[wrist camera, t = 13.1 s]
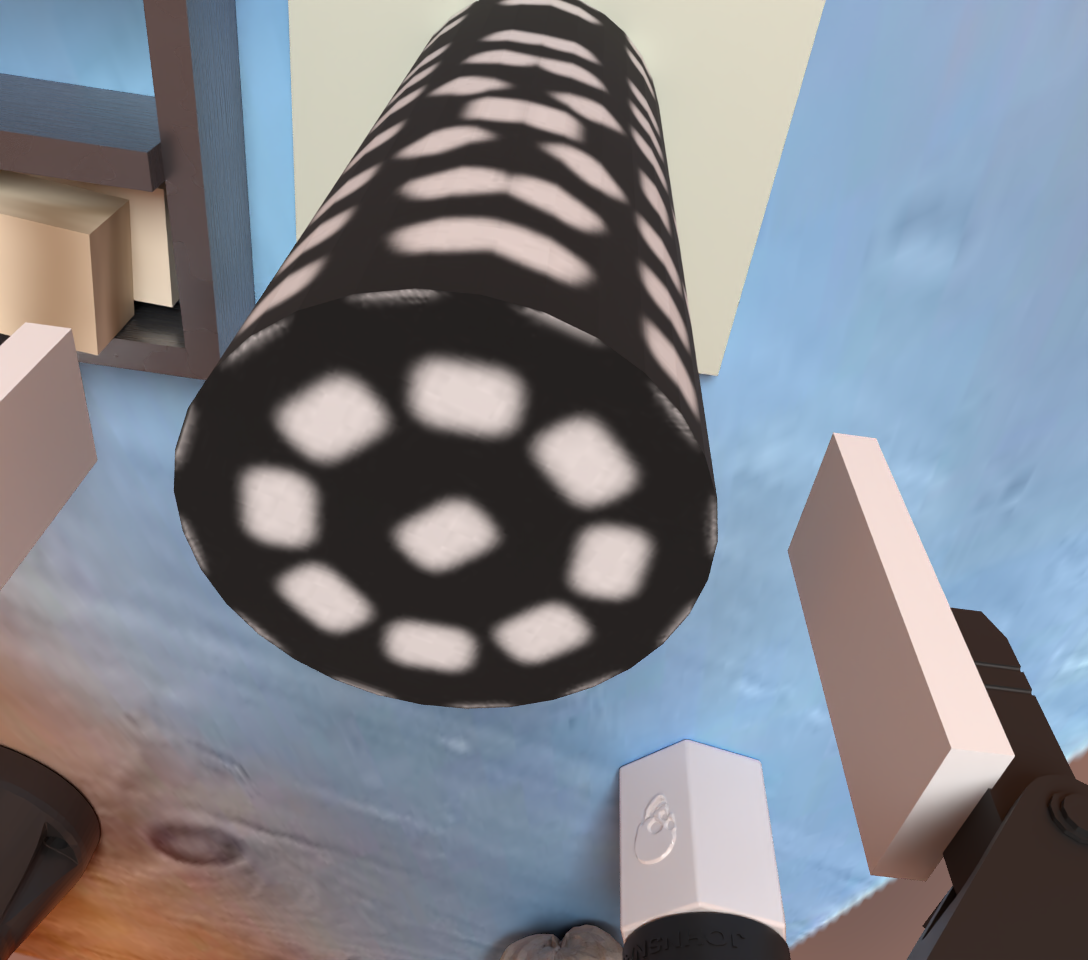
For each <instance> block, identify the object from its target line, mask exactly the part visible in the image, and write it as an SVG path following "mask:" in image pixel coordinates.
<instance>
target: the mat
mask: <svg viewBox="0 0 1088 960" xmlns="http://www.w3.org/2000/svg"><path fill="white" fill-rule="evenodd" d="M476 1H479V0H288V6H289V35H290V64H291V93H292V122H293V151H294V180H295V209H296V238H297V241H298V240H299V238H300V237H301V235H302V234H303V232H304V231H305V229H306V228H307V226H308V225H309V223H310V222H311V220H312V219H313V217H314V215H315V214H316V212H317V211H318V209H319V208H320V206H321V205H322V203H323V202H324V200H325V199H326V197H327V196H328V194H329V193H330V191H331V190H332V188H333V187H334V185H335V184H336V182H337V181H338V179H339V177H340V176H341V174H342V173H343V171H344V170H345V168H346V167H347V165H348V164H349V162H350V161H351V159H352V158H353V156H354V155H355V153H356V152H357V150H358V149H359V147H360V146H361V144H362V143H363V141H364V139H365V138H366V136H367V135H368V133H369V132H370V130H371V129H372V127H373V126H374V124H375V123H376V121H377V120H378V118H379V117H380V115H381V114H382V112H383V111H384V109H385V108H386V106H387V104H388V103H389V101H390V100H391V98H392V97H393V95H394V94H395V92H396V91H397V89H398V88H399V86H400V85H401V83H402V82H403V80H404V79H405V77H406V76H407V74H408V73H409V71H410V70H411V68H412V66H413V65H414V63H415V62H416V60H417V59H418V57H419V56H420V54H421V53H422V51H423V50H424V48H425V47H426V45H427V44H428V42H429V41H430V39H431V38H432V36H433V35H434V34H435V33H436V32H437V31H438V30H439V29H440V28H441V27H442V26H443V25H444V24H445V23H446V22H447V21H448V20H449V19H450V18H451V17H452V16H453V15H455V14H456V13H458V12H460V11H461V10H463V9H464V8H466V7H467V6H469V5H471V4H472V3H474V2H476ZM581 1H583V2H584V3H586V4H588V5H590V6H591V7H593V8H595V9H596V10H598V11H600V12H602V13H603V14H605V15H606V16H607V17H608V18H609V19H610V20H612V21H613V22H614V23H615V24H616V25H617V26H618V27H619V28H620V29H622V30H623V31H624V32H625V33H626V35H627V36H628V37H629V39H630V40H631V41H632V43H633V44H634V46H635V47H636V48H637V50H638V51H639V52H640V54H641V55H642V57H643V60H644V62H645V64H646V66H647V68H648V70H649V73H650V75H651V77H652V79H653V83H654V87H655V91H656V95H657V99H658V103H659V109H660V116H661V123H662V130H663V136H664V143H665V150H666V157H667V163H668V170H669V177H670V184H671V190H672V197H673V204H674V211H675V217H676V224H677V231H678V238H679V245H680V251H681V258H682V265H683V272H684V278H685V285H686V292H687V299H688V305H689V312H690V319H691V326H692V332H693V339H694V346H695V353H696V359H697V366H698V373H701V374H708V375H715V376H718V373H719V370H720V366H721V363H722V359H723V356H724V352H725V349H726V345H727V342H728V338H729V335H730V331H731V328H732V324H733V321H734V317H735V314H736V310H737V307H738V303H739V300H740V296H741V293H742V290H743V286H744V283H745V279H746V276H747V272H748V269H749V265H750V262H751V258H752V255H753V251H754V248H755V244H756V241H757V237H758V234H759V230H760V227H761V223H762V220H763V216H764V213H765V209H766V206H767V203H768V199H769V196H770V192H771V189H772V185H773V182H774V178H775V175H776V171H777V168H778V164H779V161H780V157H781V154H782V150H783V147H784V143H785V140H786V136H787V133H788V129H789V126H790V122H791V119H792V116H793V112H794V109H795V105H796V102H797V98H798V95H799V91H800V88H801V84H802V81H803V77H804V74H805V70H806V67H807V63H808V60H809V56H810V53H811V49H812V46H813V42H814V39H815V35H816V32H817V29H818V25H819V22H820V18H821V15H822V11H823V8H824V4H825V1H826V0H581Z"/></svg>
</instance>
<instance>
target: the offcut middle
mask: <svg viewBox="0 0 1088 960" xmlns="http://www.w3.org/2000/svg"><path fill="white" fill-rule="evenodd" d="M133 316H134V293H133V271H132V248H131V225H130V203H129V200H128V199H124V198H120V197H116V196H111V195H107V194H103V193H99V192H95V191H91V190H87V189H83V188H78V187H74V186H70V185H66V184H62V183H58V182H54V181H50V180H46V179H41V178H37V177H33V176H29V175H25V174H21V173H17V172H13V171H7V170H0V333H1V334H5V335H9V336H11V335H12V334H13V333H14V332H16V331H17V330H18V329H19V328H20V327H21V326H22V325H23V324H24V323H25V322H27V323H35V324H42V325H49V326H57V327H64V328H71V329H72V333H73V338H74V343H75V348H76V351H80V352H85V353H89V354H94V355H99V354H100V353H101V351H102V350H103V349H104V348H105V347H106V346H107V345H108V344H109V342H110V341H111V340H112V339H113V338H114V337H115V336H116V335H117V334H118V332H119V331H120V330H121V329H122V328H123V327H124V326H125V325H126V323H127V322H128V321H129V320H130V319H131V318H132V317H133Z"/></svg>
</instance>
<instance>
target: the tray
mask: <svg viewBox="0 0 1088 960" xmlns="http://www.w3.org/2000/svg"><path fill="white" fill-rule="evenodd" d="M143 2H144V11H145V19H146V27H147V35H148V44H149V52H150V60H151V68H152V77H153V85H154V93H155V97H152V96H145V95H138V94H132V93H125V92H119V91H112V90H106V89H99V88H93V87H86V86H80V85H73V84H66V83H60V82H53V81H47V80H40V79H34V78H27V77H21V76H14V75H7V74H1V73H0V170H7V171H13V172H20V173H27V174H33V175H40V176H47V177H54V178H60V179H67V180H74V181H80V182H87V183H94V184H100V185H107V186H114V187H121V188H127V189H134V190H141V191H147V192H153V191H154V190H155V189H157V188H158V187H159V186H160V185H161V184H162V183H163V182H164V181H165V184H166V192H167V200H168V209H169V217H170V225H171V233H172V241H173V250H174V258H175V266H176V274H177V283H178V291H179V300H178V301H177V302H176V304H175V305H174V306H173V307H168V306H162V305H157V304H152V303H146V302H141V301H136V300H134V316H133V317H132V318H131V319H130V320H129V321H128V322H127V323H126V325H125V326H124V327H123V328H122V329H121V330H120V331H119V332H118V334H117V335H116V336H115V337H114V338H113V339H112V340H111V341H110V342H109V344H108V345H107V346H106V347H105V348H104V349H103V350H102V351H101V353H100V354H99V355H94V354H89V353H85V352H80V351H76V353H77V358H78V362H83V363H90V364H97V365H104V366H111V367H118V368H125V369H132V370H139V371H146V372H153V373H160V374H167V375H174V376H181V377H188V378H195V379H202V380H207V378H208V377H209V375H210V374H211V372H212V371H213V369H214V368H215V366H216V365H217V363H218V361H219V360H220V358H221V357H222V355H223V354H224V352H225V351H226V349H227V348H228V346H229V345H230V343H231V342H232V340H233V339H234V337H235V336H236V334H237V333H238V331H239V330H240V328H241V326H242V325H243V323H244V322H245V320H246V319H247V317H248V316H249V314H250V313H251V311H252V310H253V308H254V307H255V297H254V282H253V267H252V252H251V237H250V222H249V207H248V192H247V177H246V161H245V146H244V131H243V116H242V101H241V86H240V71H239V56H238V41H237V26H236V11H235V0H143ZM9 337H10V336H9V335H5V334H1V333H0V345H2V344H3V343H4V342H5V341H6V340H7V339H8V338H9Z"/></svg>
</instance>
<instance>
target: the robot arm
mask: <svg viewBox="0 0 1088 960" xmlns="http://www.w3.org/2000/svg"><path fill="white" fill-rule="evenodd" d="M96 462H97V455H96V450H95V445H94V440H93V435H92V430H91V424H90V419H89V414H88V409H87V404H86V399H85V394H84V389H83V384H82V379H81V373H80V368H79V363H78V358H77V353H76V348H75V343H74V338H73V333H72V329H71V328H64V327H57V326H49V325H42V324H35V323H27V322H25V323H24V324H23V325H22V326H21V327H20V328H19V329H18V330H17V331H16V332H14V333H13V334H12V335H11V336H10V337H9V338H8V339H7V340H6V341H5V342H4V343H3V344H2V345H0V590H1V589H2V588H3V586H4V585H5V584H6V582H7V581H8V580H9V578H10V577H11V576H12V574H13V573H14V572H15V570H16V569H17V568H18V566H19V565H20V564H21V562H22V561H23V560H24V558H25V557H26V556H27V554H28V553H29V552H30V550H31V549H32V548H33V546H34V545H35V544H36V542H37V541H38V539H39V538H40V537H41V535H42V534H43V533H44V531H45V530H46V529H47V527H48V526H49V525H50V523H51V522H52V521H53V519H54V518H55V517H56V515H57V514H58V513H59V511H60V510H61V509H62V507H63V506H64V505H65V503H66V502H67V501H68V499H69V498H70V497H71V495H72V494H73V493H74V491H75V490H76V489H77V487H78V486H79V485H80V483H81V482H82V481H83V479H84V478H85V477H86V475H87V474H88V472H89V471H90V470H91V468H92V467H93V466H94V464H95V463H96ZM788 554H789V558H790V562H791V566H792V569H793V573H794V577H795V581H796V585H797V589H798V593H799V597H800V601H801V605H802V609H803V613H804V616H805V620H806V624H807V628H808V632H809V636H810V640H811V644H812V648H813V652H814V656H815V659H816V663H817V667H818V671H819V675H820V679H821V683H822V687H823V691H824V695H825V699H826V702H827V706H828V710H829V714H830V718H831V722H832V726H833V730H834V734H835V738H836V742H837V746H838V749H839V753H840V757H841V761H842V765H843V769H844V773H845V777H846V781H847V785H848V789H849V792H850V796H851V800H852V804H853V808H854V812H855V816H856V820H857V824H858V828H859V832H860V835H861V839H862V843H863V847H864V851H865V855H866V859H867V863H868V867H869V871H870V875H875V876H884V877H893V878H901V879H910V880H919V881H927V879H928V878H929V876H930V875H931V873H932V872H933V871H934V869H935V868H936V866H937V865H938V864H939V862H940V861H941V859H942V858H943V857H944V859H945V862H946V865H947V868H948V871H949V874H950V877H951V881H952V883H953V886H952V887H951V889H950V890H949V891H948V893H947V894H946V895H945V897H944V898H943V899H942V901H941V902H940V903H939V905H938V906H937V907H936V909H935V910H934V911H933V913H932V914H931V915H930V917H929V918H928V920H927V921H926V922H925V923H924V925H923V927H924V928H925V930H924V932H923V933H922V935H921V937H920V938H919V940H918V942H917V943H916V945H915V947H914V948H913V950H912V952H911V953H910V955H909V957H908V959H907V960H1088V785H1086V784H1084V783H1082V782H1080V781H1078V780H1076V779H1075V777H1074V775H1073V773H1072V771H1071V769H1070V767H1069V764H1068V762H1067V760H1066V758H1065V756H1064V754H1063V752H1062V750H1061V748H1060V746H1059V744H1058V742H1057V740H1056V738H1055V736H1054V734H1053V732H1052V730H1051V728H1050V726H1049V724H1048V722H1047V719H1046V717H1045V715H1044V713H1043V711H1042V709H1041V707H1040V705H1039V703H1038V701H1037V699H1036V697H1035V696H1034V695H1032V694H1031V691H1032V689H1031V687H1030V685H1029V683H1028V681H1027V679H1026V676H1025V674H1024V672H1020V667H1021V666H1020V664H1019V662H1018V660H1017V658H1016V656H1015V654H1014V652H1013V650H1012V648H1011V646H1010V644H1009V642H1008V640H1007V638H1006V637H1005V636H1004V635H1003V634H1002V633H1001V632H1000V631H999V630H998V629H997V627H996V626H995V625H994V624H993V623H992V622H991V621H990V620H989V619H988V618H987V617H986V616H985V615H984V614H983V613H982V612H981V611H973V610H965V609H957V608H950V606H949V604H948V602H947V599H946V597H945V595H944V593H943V590H942V588H941V586H940V583H939V581H938V579H937V577H936V574H935V572H934V570H933V567H932V565H931V563H930V561H929V558H928V556H927V554H926V551H925V549H924V547H923V545H922V542H921V540H920V538H919V535H918V533H917V531H916V529H915V526H914V524H913V522H912V519H911V517H910V515H909V513H908V510H907V508H906V506H905V503H904V501H903V499H902V497H901V494H900V492H899V490H898V487H897V485H896V483H895V481H894V478H893V476H892V474H891V471H890V469H889V467H888V465H887V462H886V460H885V458H884V455H883V453H882V451H881V449H880V446H879V444H878V442H877V439H876V438H868V437H861V436H854V435H846V434H839V433H833V435H832V437H831V440H830V443H829V445H828V448H827V450H826V453H825V456H824V458H823V461H822V463H821V466H820V468H819V471H818V474H817V476H816V479H815V481H814V484H813V486H812V489H811V492H810V494H809V497H808V499H807V502H806V505H805V507H804V510H803V512H802V515H801V517H800V520H799V523H798V525H797V528H796V530H795V533H794V536H793V538H792V541H791V543H790V546H789V548H788ZM99 838H100V828H99V823H98V820H97V817H96V815H95V813H94V811H93V809H92V808H91V806H90V805H89V804H88V802H87V801H86V800H85V799H84V797H83V796H82V795H81V794H80V793H79V792H78V791H77V790H76V789H75V788H74V787H73V786H71V785H70V784H69V783H68V782H67V781H65V780H64V779H63V778H61V777H60V776H59V775H57V774H56V773H54V772H53V771H51V770H49V769H48V768H46V767H45V766H43V765H41V764H39V763H37V762H36V761H34V760H32V759H30V758H28V757H25V756H23V755H21V754H19V753H17V752H14V751H12V750H9V749H7V748H4V747H1V746H0V960H8V958H9V957H10V955H11V954H12V953H13V952H14V951H15V950H16V949H17V948H18V947H19V945H20V944H21V943H22V942H23V941H24V940H25V939H26V938H27V937H28V936H29V935H30V933H31V932H32V931H33V930H34V929H35V928H36V927H37V926H38V925H39V924H40V923H41V921H42V920H43V919H44V918H45V917H46V916H47V915H48V914H49V913H50V912H51V910H52V909H53V908H54V907H55V906H56V905H57V904H58V903H59V902H60V901H61V900H62V898H63V897H64V896H65V895H66V894H67V893H68V892H69V891H70V890H71V889H72V888H73V886H74V885H75V884H76V883H77V882H78V881H79V879H80V878H81V876H82V875H83V873H84V871H85V869H86V867H87V865H88V863H89V861H90V859H91V857H92V855H93V853H94V851H95V849H96V847H97V844H98V842H99Z"/></svg>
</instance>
